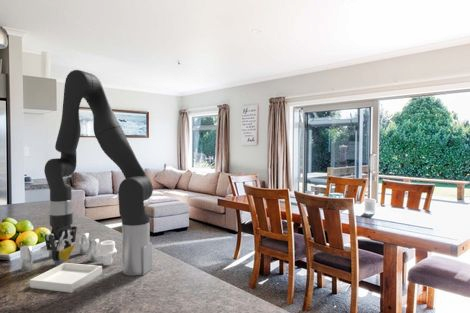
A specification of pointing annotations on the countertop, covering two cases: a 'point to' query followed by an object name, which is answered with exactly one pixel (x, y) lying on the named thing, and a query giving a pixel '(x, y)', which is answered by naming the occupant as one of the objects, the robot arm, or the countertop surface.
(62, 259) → the stepped yellow cone
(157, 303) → the countertop surface
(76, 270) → the tray
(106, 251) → the pipe fitting
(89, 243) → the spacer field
